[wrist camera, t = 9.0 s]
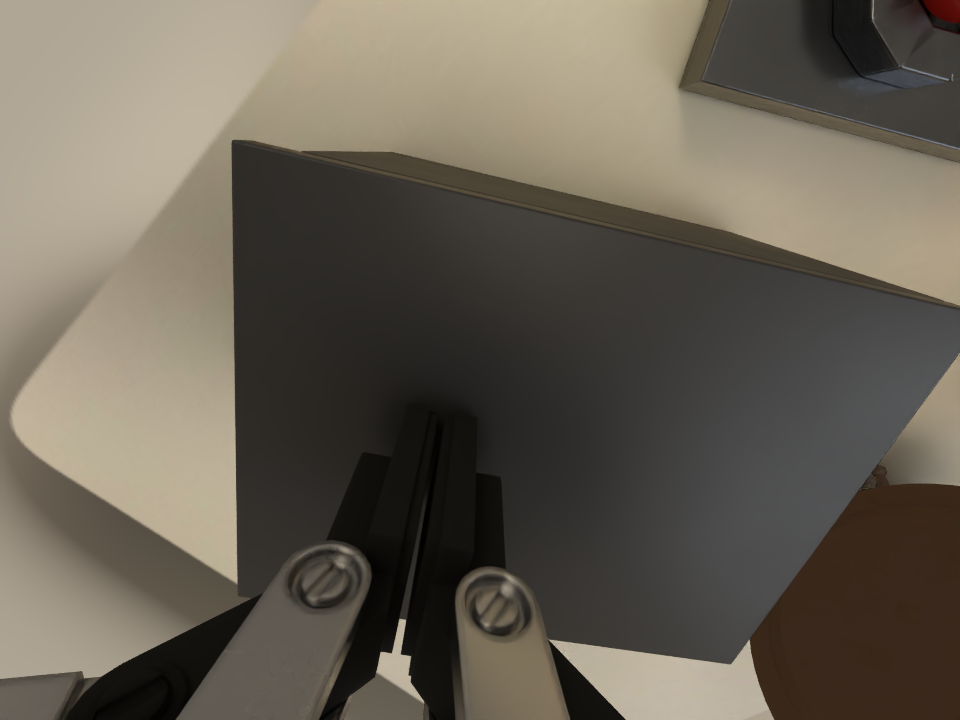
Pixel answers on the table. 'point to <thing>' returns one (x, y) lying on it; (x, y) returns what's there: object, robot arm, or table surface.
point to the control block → (837, 67)
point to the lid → (563, 391)
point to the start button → (944, 9)
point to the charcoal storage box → (591, 210)
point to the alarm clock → (871, 614)
